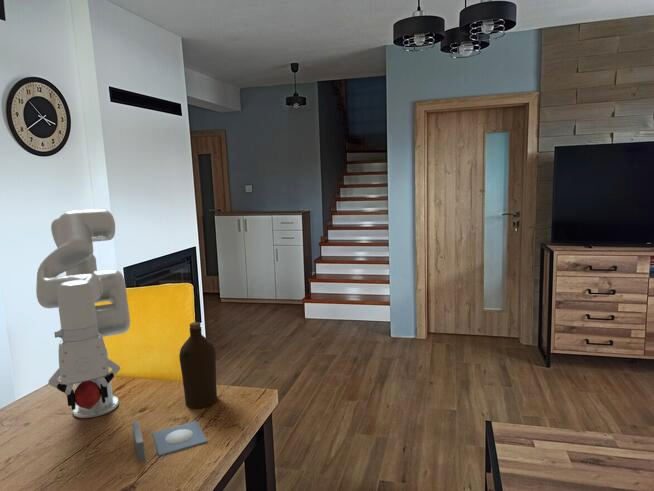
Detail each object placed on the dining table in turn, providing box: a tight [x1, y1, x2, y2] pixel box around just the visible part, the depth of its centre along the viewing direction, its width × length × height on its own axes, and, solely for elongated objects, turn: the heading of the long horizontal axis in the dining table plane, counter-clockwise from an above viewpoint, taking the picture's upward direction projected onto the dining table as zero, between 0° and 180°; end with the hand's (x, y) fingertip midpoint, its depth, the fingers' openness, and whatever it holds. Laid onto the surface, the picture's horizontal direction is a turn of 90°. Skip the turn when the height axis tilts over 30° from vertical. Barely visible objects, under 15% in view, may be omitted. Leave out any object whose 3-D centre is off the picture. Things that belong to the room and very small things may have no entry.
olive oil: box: [179, 321, 218, 409], centre depth 142 cm, size 11×11×25 cm
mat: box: [152, 420, 208, 457], centre depth 124 cm, size 12×12×1 cm
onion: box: [74, 381, 101, 409], centre depth 112 cm, size 6×6×8 cm
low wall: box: [131, 420, 146, 463], centre depth 119 cm, size 12×2×5 cm, turn 28°
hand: (88, 403), depth 113 cm, fingers closed on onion, 5 cm apart
